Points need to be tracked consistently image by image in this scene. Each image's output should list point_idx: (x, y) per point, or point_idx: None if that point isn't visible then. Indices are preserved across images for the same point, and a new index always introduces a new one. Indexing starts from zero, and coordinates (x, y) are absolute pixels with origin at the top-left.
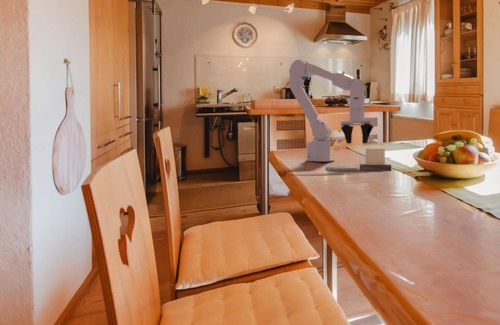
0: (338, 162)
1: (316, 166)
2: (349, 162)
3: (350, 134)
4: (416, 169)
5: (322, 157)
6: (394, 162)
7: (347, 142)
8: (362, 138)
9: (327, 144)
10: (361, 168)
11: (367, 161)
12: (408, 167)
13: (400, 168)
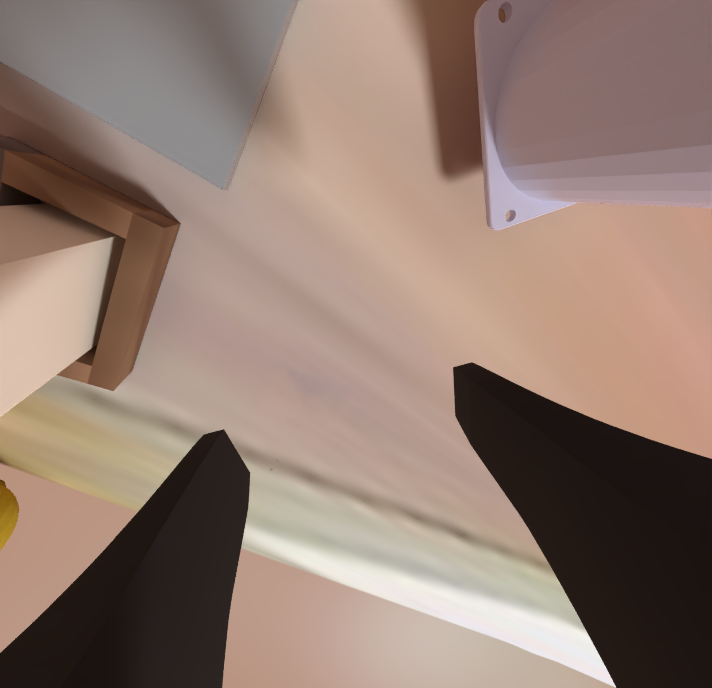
0: None
1: None
2: None
3: (540, 524)
4: (64, 474)
5: (543, 21)
6: (461, 580)
7: (465, 370)
8: (187, 477)
9: (677, 37)
10: (104, 188)
11: (10, 216)
12: None
13: (160, 455)
